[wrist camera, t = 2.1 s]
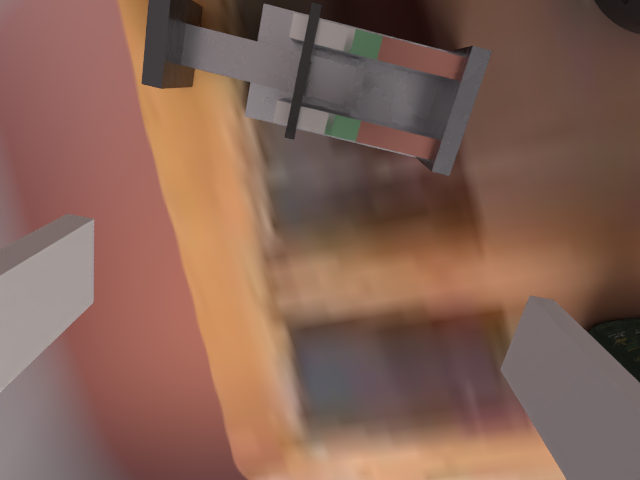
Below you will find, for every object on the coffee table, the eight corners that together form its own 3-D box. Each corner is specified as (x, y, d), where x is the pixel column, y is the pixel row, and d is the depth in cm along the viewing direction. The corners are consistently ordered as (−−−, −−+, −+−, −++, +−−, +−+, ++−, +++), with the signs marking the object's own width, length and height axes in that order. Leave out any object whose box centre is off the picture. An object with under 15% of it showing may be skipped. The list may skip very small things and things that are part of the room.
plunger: (187, -17, 35) (152, -42, 28) (371, 30, 36) (382, 19, 29) (174, 99, 38) (139, 104, 31) (343, 140, 39) (347, 153, 32)
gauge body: (265, 5, 36) (250, -13, 29) (461, 56, 37) (492, 50, 30) (246, 115, 39) (229, 123, 32) (428, 159, 40) (449, 175, 33)
